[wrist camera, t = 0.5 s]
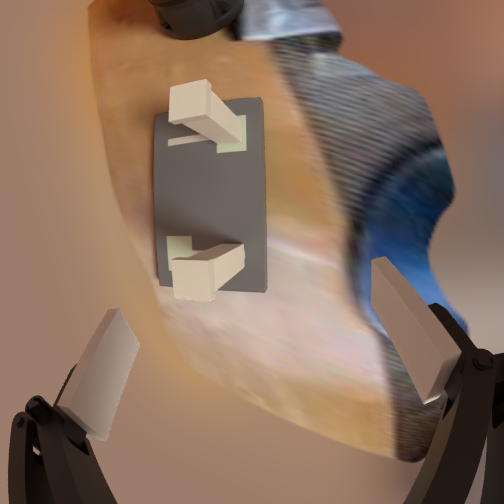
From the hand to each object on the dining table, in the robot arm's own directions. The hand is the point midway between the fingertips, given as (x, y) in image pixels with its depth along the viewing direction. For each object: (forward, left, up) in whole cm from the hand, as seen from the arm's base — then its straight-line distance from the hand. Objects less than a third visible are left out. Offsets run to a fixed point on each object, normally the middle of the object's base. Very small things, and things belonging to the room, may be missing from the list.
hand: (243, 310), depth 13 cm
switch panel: (-7, -11, -24) cm, 27 cm away
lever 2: (+1, -7, -21) cm, 23 cm away
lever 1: (-15, -7, -21) cm, 27 cm away
